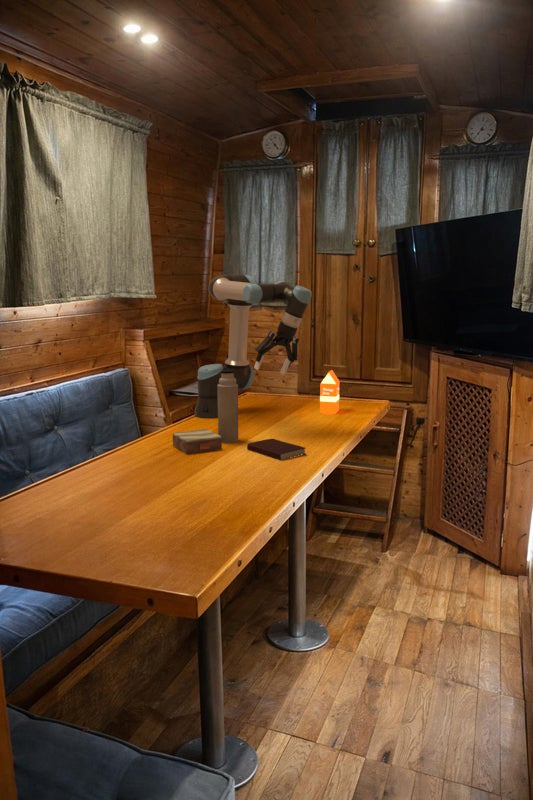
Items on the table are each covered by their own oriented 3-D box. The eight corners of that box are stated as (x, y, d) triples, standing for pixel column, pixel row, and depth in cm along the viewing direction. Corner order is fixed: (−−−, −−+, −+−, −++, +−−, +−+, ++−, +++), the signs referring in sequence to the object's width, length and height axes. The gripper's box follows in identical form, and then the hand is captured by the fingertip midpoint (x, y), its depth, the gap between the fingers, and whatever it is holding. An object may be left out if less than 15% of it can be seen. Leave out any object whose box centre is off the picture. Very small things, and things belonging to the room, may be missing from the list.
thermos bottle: (239, 438, 261) (238, 368, 256) (237, 443, 253) (237, 371, 248) (219, 438, 261) (218, 368, 256) (217, 443, 253) (216, 371, 248)
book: (279, 462, 229) (279, 453, 228) (246, 450, 244) (246, 442, 243) (306, 456, 237) (306, 447, 236) (272, 445, 251) (272, 437, 251)
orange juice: (319, 413, 308) (320, 371, 304) (323, 410, 316) (324, 369, 312) (335, 414, 305) (336, 372, 302) (339, 411, 314) (340, 370, 310)
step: (173, 445, 249) (172, 433, 248) (206, 441, 256) (206, 428, 255) (187, 454, 236) (187, 441, 236) (222, 449, 243) (222, 436, 242)
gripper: (269, 321, 249) (249, 370, 256) (317, 333, 264) (297, 379, 271) (260, 314, 255) (240, 362, 262) (307, 326, 270) (288, 372, 277)
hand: (269, 371), depth 266 cm, fingers open, 13 cm apart
